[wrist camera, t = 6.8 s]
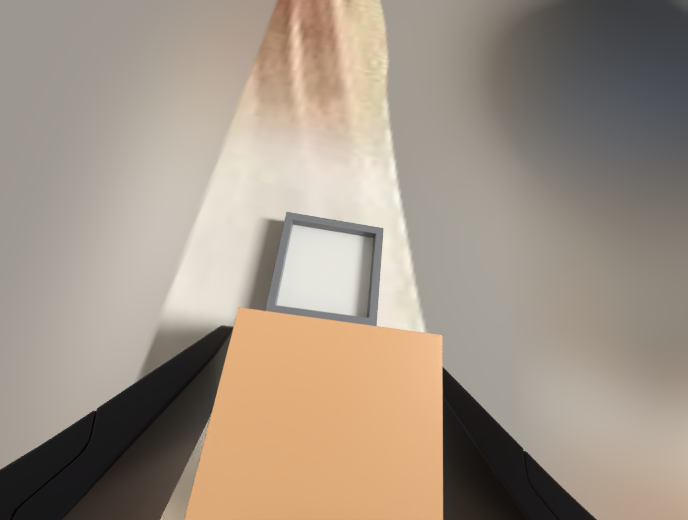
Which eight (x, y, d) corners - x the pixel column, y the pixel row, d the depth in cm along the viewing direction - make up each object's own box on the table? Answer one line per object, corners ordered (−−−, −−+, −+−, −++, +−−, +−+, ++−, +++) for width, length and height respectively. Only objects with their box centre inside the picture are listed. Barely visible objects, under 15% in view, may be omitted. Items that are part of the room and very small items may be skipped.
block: (342, 410, 15) (443, 613, 4) (274, 403, 15) (163, 601, 3) (349, 340, 16) (442, 335, 5) (287, 332, 16) (238, 307, 5)
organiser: (362, 438, 15) (367, 447, 14) (244, 427, 15) (237, 436, 13) (378, 236, 20) (383, 228, 18) (288, 221, 19) (286, 211, 18)
